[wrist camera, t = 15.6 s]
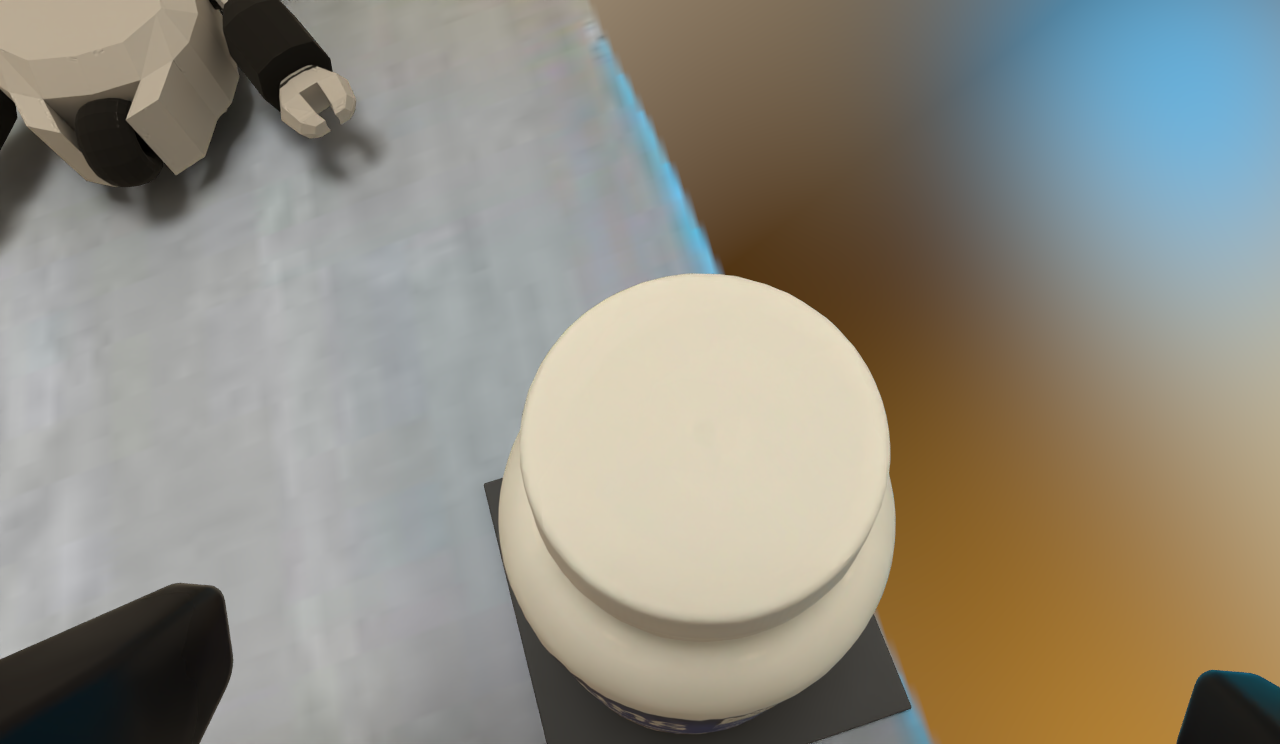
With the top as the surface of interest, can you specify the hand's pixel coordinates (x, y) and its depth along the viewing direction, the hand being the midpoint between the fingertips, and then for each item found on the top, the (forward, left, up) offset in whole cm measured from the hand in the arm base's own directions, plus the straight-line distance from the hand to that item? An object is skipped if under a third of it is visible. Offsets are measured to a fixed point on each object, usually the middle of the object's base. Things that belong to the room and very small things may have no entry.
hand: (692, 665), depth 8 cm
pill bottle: (+2, -1, -10) cm, 10 cm away
